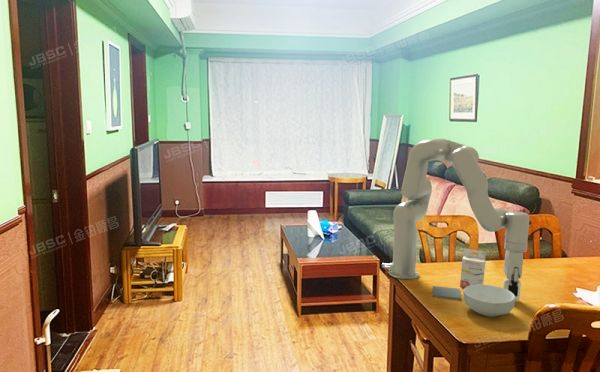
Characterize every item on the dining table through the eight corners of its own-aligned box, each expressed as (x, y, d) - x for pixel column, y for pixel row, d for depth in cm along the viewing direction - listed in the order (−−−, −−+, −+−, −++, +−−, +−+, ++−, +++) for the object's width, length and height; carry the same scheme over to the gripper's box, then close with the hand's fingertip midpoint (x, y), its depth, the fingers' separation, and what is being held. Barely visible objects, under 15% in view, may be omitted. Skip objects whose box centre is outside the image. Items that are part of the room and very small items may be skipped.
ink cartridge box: (459, 287, 186) (462, 251, 184) (461, 283, 191) (463, 248, 189) (482, 290, 183) (485, 254, 181) (483, 286, 187) (486, 251, 185)
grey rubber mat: (432, 297, 176) (432, 295, 175) (432, 287, 185) (432, 285, 185) (460, 300, 173) (461, 298, 173) (459, 290, 182) (459, 288, 182)
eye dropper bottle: (516, 303, 170) (519, 272, 169) (500, 299, 174) (503, 268, 172) (520, 300, 174) (523, 269, 172) (505, 296, 177) (507, 266, 176)
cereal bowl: (463, 299, 174) (465, 281, 173) (512, 307, 168) (514, 288, 167) (460, 317, 158) (462, 297, 157) (514, 326, 152) (516, 305, 151)
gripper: (501, 239, 180) (497, 284, 183) (508, 251, 164) (503, 300, 166) (522, 240, 178) (518, 286, 181) (531, 253, 162) (526, 303, 165)
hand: (511, 292), depth 174 cm, fingers open, 4 cm apart
